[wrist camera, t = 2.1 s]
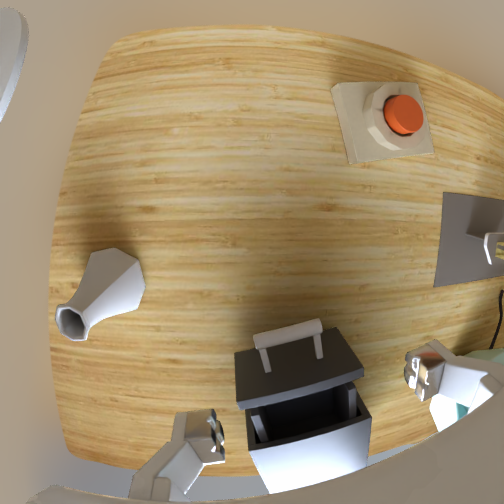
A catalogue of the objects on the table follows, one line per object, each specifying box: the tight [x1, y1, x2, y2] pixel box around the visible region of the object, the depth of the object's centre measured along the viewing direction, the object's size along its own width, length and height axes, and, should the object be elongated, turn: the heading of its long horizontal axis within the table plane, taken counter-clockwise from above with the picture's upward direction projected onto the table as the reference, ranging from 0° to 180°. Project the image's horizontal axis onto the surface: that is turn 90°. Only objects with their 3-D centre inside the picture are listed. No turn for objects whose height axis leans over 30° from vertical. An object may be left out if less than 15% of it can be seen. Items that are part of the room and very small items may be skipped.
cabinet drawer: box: [235, 318, 364, 443], centre depth 27 cm, size 18×11×8 cm, turn 13°
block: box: [330, 82, 434, 164], centre depth 23 cm, size 10×8×4 cm
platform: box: [433, 192, 504, 287], centre depth 26 cm, size 12×18×7 cm, turn 91°
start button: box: [384, 95, 424, 134], centre depth 21 cm, size 4×4×2 cm
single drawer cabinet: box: [245, 390, 372, 494], centre depth 29 cm, size 15×13×10 cm
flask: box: [55, 247, 146, 341], centre depth 22 cm, size 7×7×10 cm
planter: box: [430, 348, 504, 432], centre depth 27 cm, size 17×8×21 cm
